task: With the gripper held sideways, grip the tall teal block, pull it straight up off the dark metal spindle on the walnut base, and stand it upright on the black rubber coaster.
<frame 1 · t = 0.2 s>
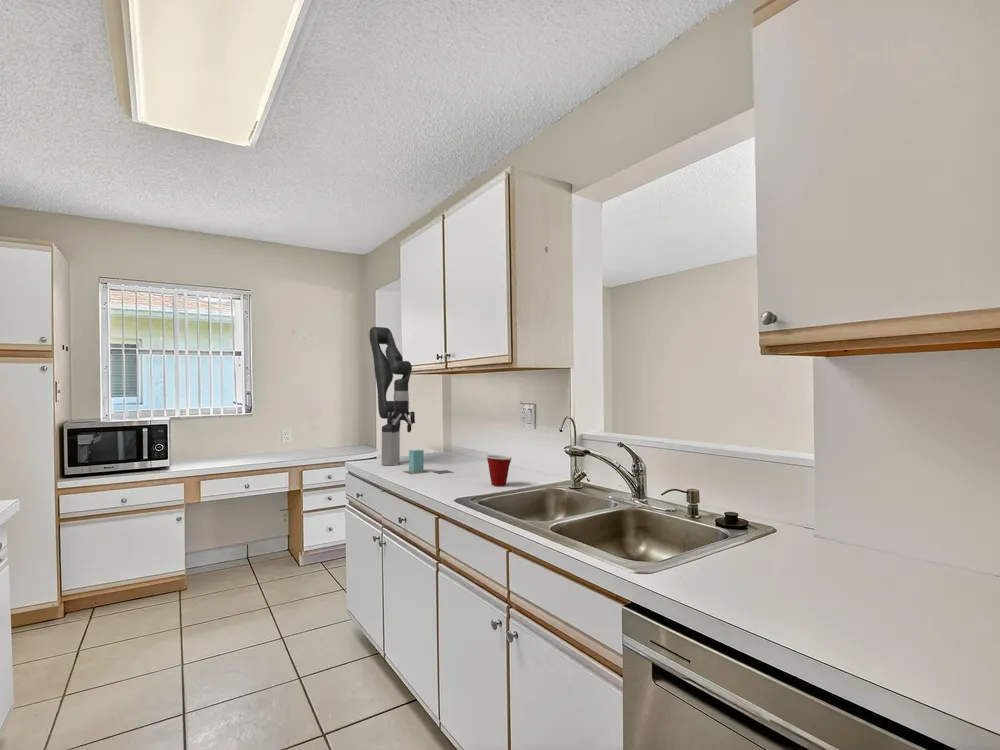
hand: (401, 432, 261), 18 cm above the worktop, tool pointing down, fingers open, 8 cm apart
walnut base: (416, 474, 242), on the worktop
teal block: (416, 471, 242), point 1 cm above the worktop, touching walnut base
coaster mat: (442, 474, 241), on the worktop
plastic cup: (499, 485, 214), on the worktop
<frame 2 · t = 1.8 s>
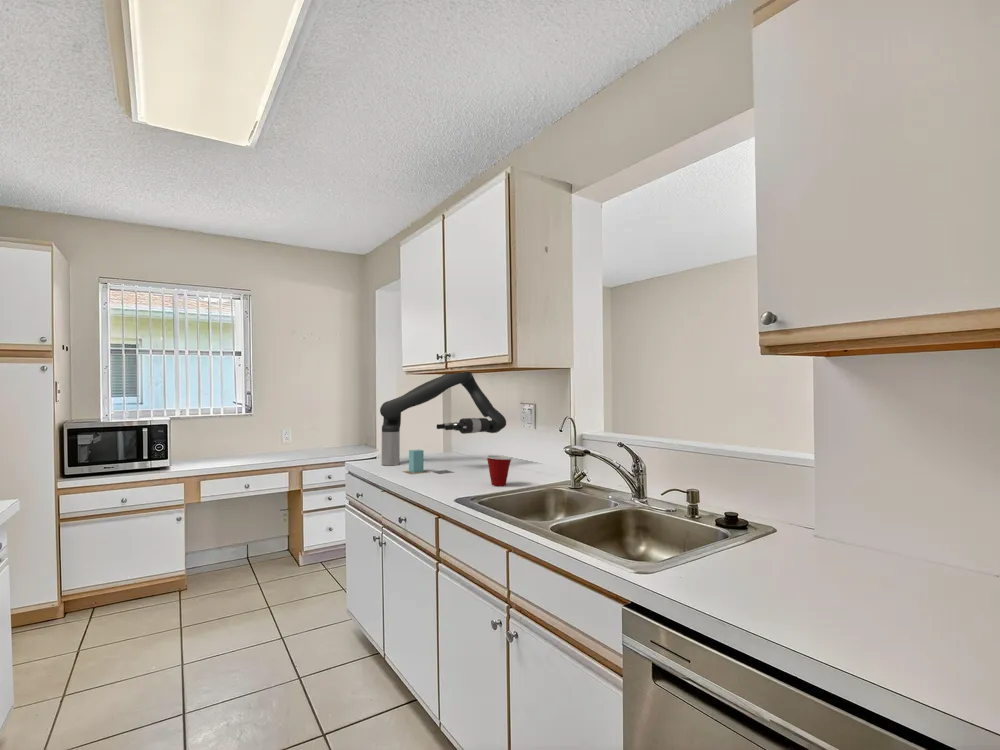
hand: (441, 427, 250), 21 cm above the worktop, tool horizontal, fingers open, 8 cm apart
nothing on the worktop moved.
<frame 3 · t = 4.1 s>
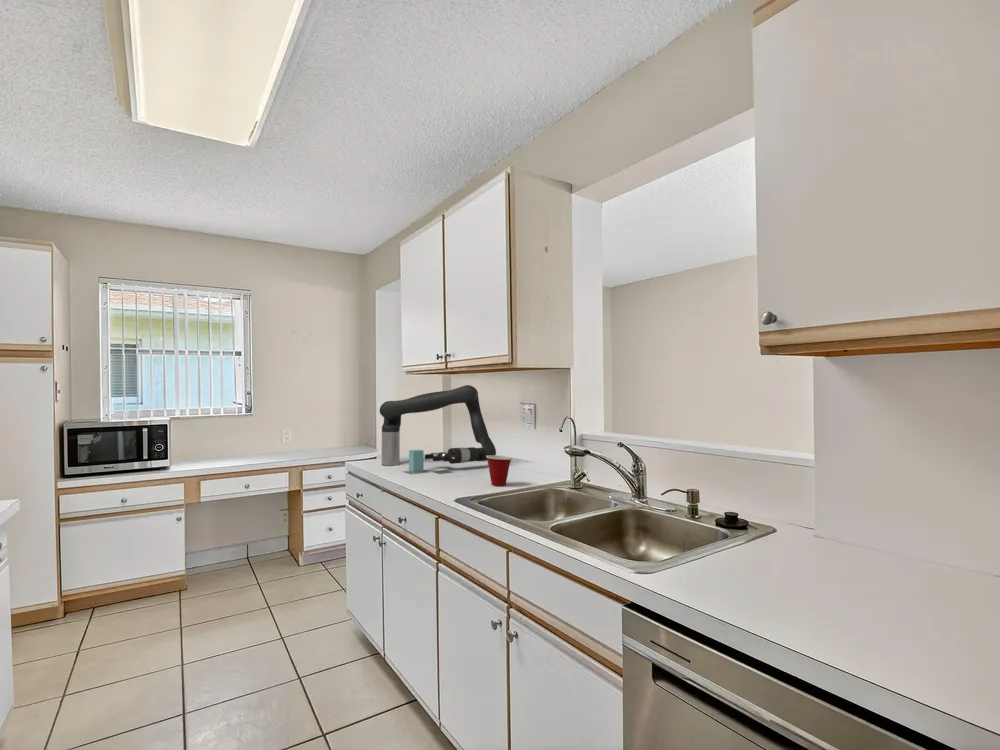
hand: (429, 457, 246), 7 cm above the worktop, tool horizontal, fingers open, 8 cm apart
nothing on the worktop moved.
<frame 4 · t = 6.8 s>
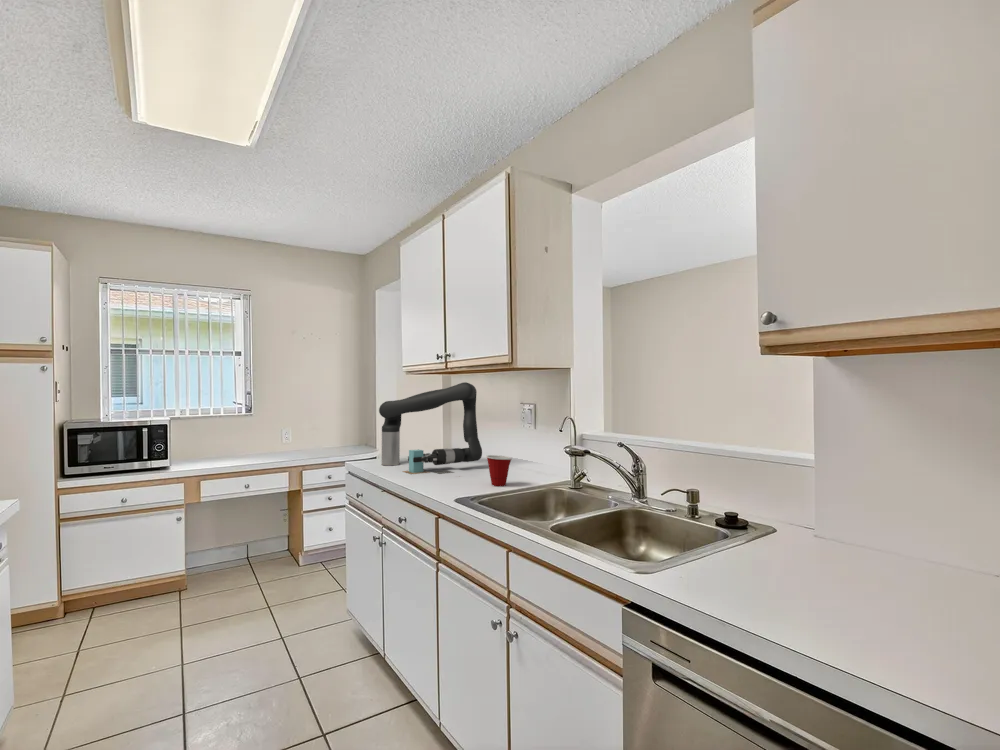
hand: (411, 459, 241), 7 cm above the worktop, tool horizontal, fingers closed on teal block, 5 cm apart
teal block: (416, 471, 242), point 1 cm above the worktop, touching gripper, walnut base
everything else where it was.
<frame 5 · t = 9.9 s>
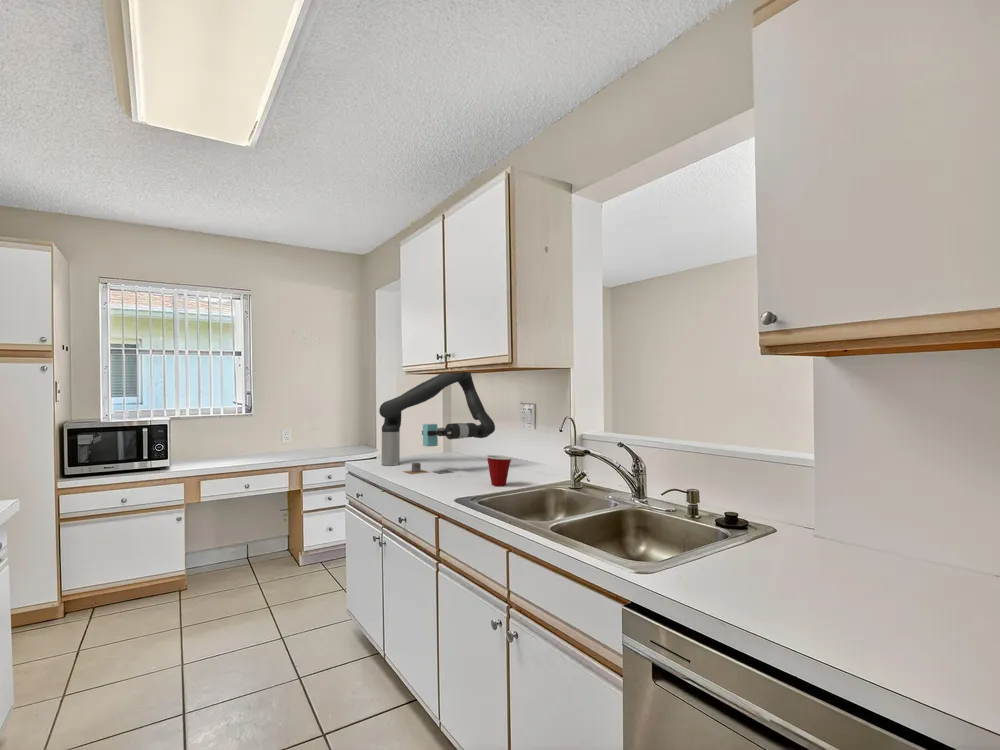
hand: (425, 433, 240), 19 cm above the worktop, tool horizontal, fingers closed on teal block, 5 cm apart
teal block: (430, 445, 242), point 13 cm above the worktop, touching gripper
everything else where it was.
when the fingers open (8 cm above the worktop, at t = 13.3 s): teal block stays where it is, resting on coaster mat.
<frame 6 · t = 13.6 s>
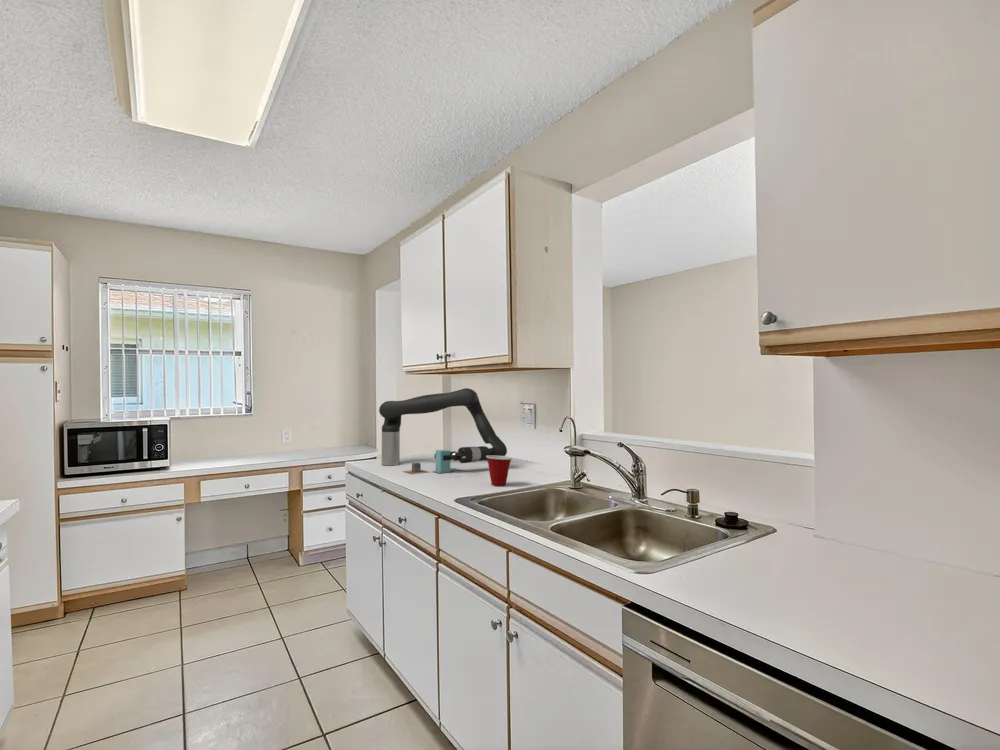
hand: (439, 457, 240), 8 cm above the worktop, tool horizontal, fingers open, 8 cm apart
teal block: (442, 471, 241), point 1 cm above the worktop, touching coaster mat
everything else where it was.
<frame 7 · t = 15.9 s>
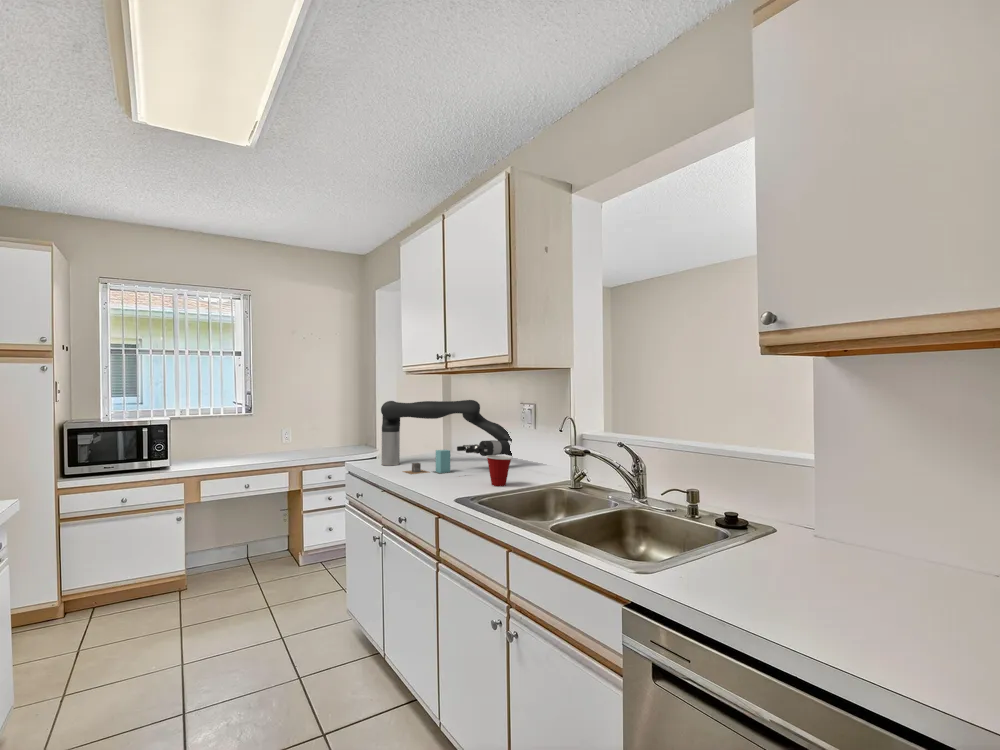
hand: (461, 449, 248), 11 cm above the worktop, tool horizontal, fingers open, 8 cm apart
nothing on the worktop moved.
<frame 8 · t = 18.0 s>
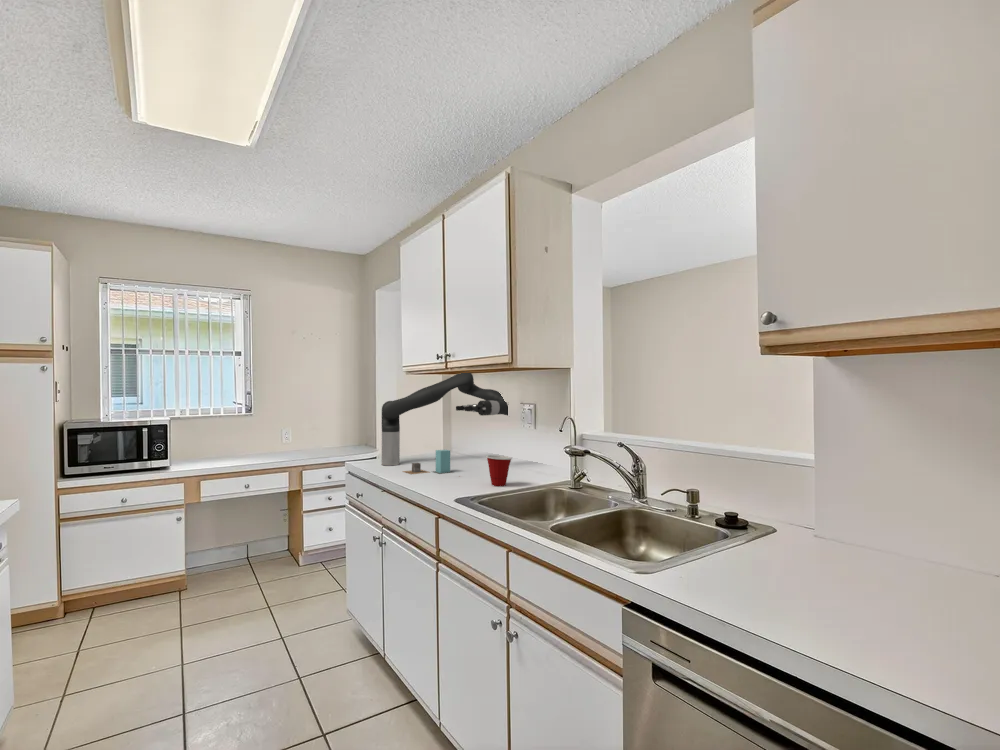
hand: (460, 408, 253), 30 cm above the worktop, tool horizontal, fingers open, 8 cm apart
nothing on the worktop moved.
at the end: teal block 0.0 cm off-centre on the coaster mat, point 1.0 cm above the coaster mat's base; teal block tilted 0°; the gripper is holding nothing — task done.
